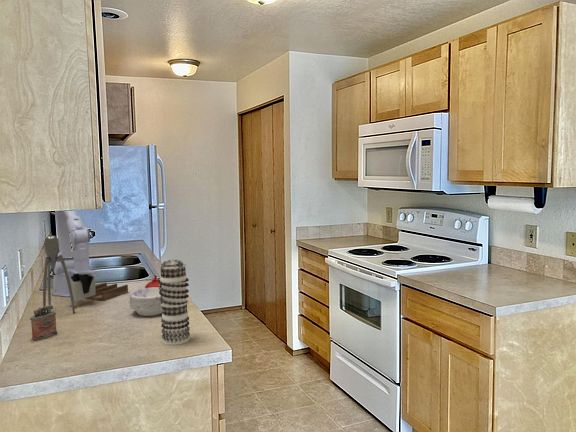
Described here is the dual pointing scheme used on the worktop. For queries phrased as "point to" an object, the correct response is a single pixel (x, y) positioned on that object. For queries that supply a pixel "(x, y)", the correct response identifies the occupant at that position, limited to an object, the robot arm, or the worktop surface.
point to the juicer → (52, 257)
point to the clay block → (78, 290)
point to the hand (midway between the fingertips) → (83, 292)
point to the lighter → (43, 323)
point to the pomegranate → (153, 283)
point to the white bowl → (146, 301)
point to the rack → (108, 291)
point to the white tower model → (174, 302)
